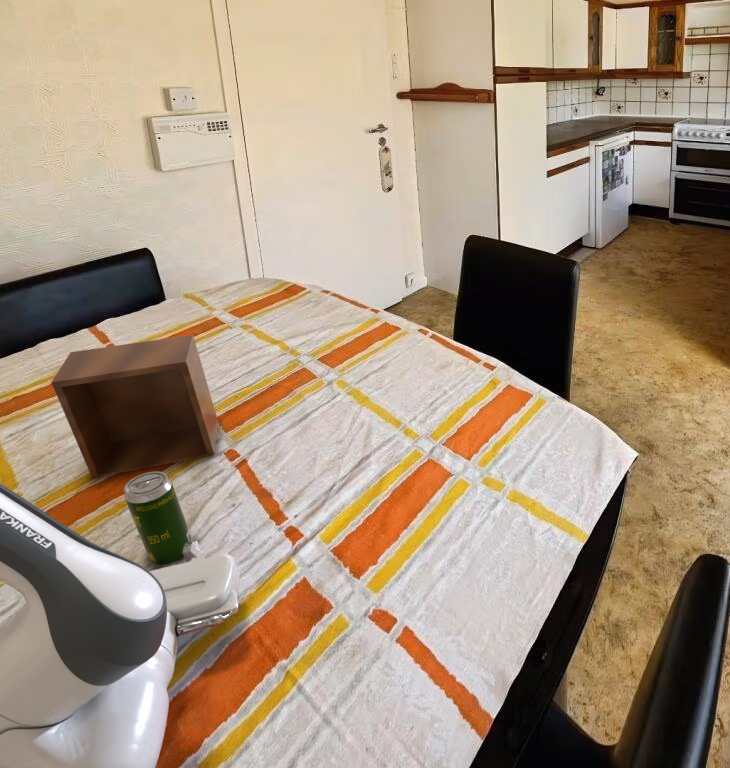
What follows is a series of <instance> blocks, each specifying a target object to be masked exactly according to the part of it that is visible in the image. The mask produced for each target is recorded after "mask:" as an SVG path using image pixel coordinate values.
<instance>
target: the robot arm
mask: <svg viewBox="0 0 730 768" xmlns="http://www.w3.org/2000/svg"><path fill="white" fill-rule="evenodd" d="M183 546H184V548H183V555H184V556H185V557H184V560H185V562H183V563H179V564H174V565H170V566H166V567H163V568H162V567H161V568H156V569H153V570H148V569H147V568H146V567H144V566H143V565H141V564H139V563H137V562H136V561H133V560H131V559H129V558H127V557H125V556H123V555H120V554H118V553H115V552H113V551H111V550H108V549H106V548H105V547H102V546H100V545H98V544H96V543H94V542H92V541H91V540H89V539H87V538H85V537H84V536H82V535H81V534H79V533H77V532H76V531H74V530H73V529H71V528H70V527H68V526H66V525H65V524H64V523H62V522H61V521H59V520H58V519H56V518H55V517H53V516H51V515H50V514H48V513H47V512H46V511H44V510H42V509H41V508H39V507H38V506H36V505H35V504H33V503H32V502H30V501H28V500H27V499H25V498H24V497H23V496H21V495H19V494H17V493H16V492H14V491H13V490H11V489H10V488H9V487H7V486H5V485H3V483H1V482H0V581H1V582H3V583H4V584H6V585H8V586H10V587H11V588H13V589H14V590H15V591H17V592H18V593H20V594H21V595H22V596H23V598H24V600H25V603H24V604H23V605H22V606H21V607H20V608H18V609H17V610H16V611H14V612H13V613H12V614H10V615H9V616H8V617H7V618H6V619H5V620H3V621H2V622H1V623H0V768H156V767H157V763H158V761H159V758H160V754H161V750H162V747H163V743H164V738H165V732H166V728H167V723H168V722H167V721H168V715H169V708H170V698H169V693H168V686H169V685H170V682H171V680H172V678H173V676H174V673H175V666H176V659H177V652H178V645H179V639H180V636H183V635H188V634H192V633H195V632H198V631H200V630H203V629H206V628H207V629H208V628H214V627H217V626H220V625H222V624H224V623H225V621H226V620H227V619H229V618H231V617H232V616H234V615H235V614H237V612H238V611H239V601H240V595H239V593H238V591H239V585H240V571H239V568H238V564H237V561H236V558H235V557H233V556H232V555H230V554H229V553H221V554H216V555H213V556H209V557H205V555H204V554H203V553H202V552H201V547H200V544H199V542H198V540H193V542H191V543H186V544H184V545H183Z"/></svg>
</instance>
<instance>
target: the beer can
mask: <svg viewBox="0 0 730 768" xmlns="http://www.w3.org/2000/svg"><path fill="white" fill-rule="evenodd" d="M123 492H124V499H125V502H126V505H127V507H128V509H129V513H130V515H131V517H132V520H133V523H134V524H135V527H136V530H137V532H138V535H139V537H140V539H141V542H142V544H143V547H144V550H145V552H146V554H147V556H148V557H147V558H148V559H149V562H151V563H152V564H154V565H157V566H164V565H171V564H174V563H176V562H178V561H181V560H182V559H185V556H184V555H183V548H184V546H183V545H184V544H186V543H191V542H194V540H193V538H192V536H191V533H190V532H191V531H190V530H189V526H188V524H187V522H186V518H185V515H184V513H183V510H182V507H181V504H180V501H179V499H178V496H177V493H176V490H175V487H174V484H173V482H172V480H171V479H170V478H169V477H168V475H167V474H166V473H165V472H162V471H149V472H145V473H142V474H139V475H137V476H135V477H133V478H132V479H130V480H129V481H128V482H127V483H126V484H125V486H124V488H123Z"/></svg>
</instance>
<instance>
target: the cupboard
mask: <svg viewBox="0 0 730 768" xmlns="http://www.w3.org/2000/svg"><path fill="white" fill-rule="evenodd" d="M50 384H51V385H52V388H53V390H54V392H55V394H56V397H57V399H58V401H59V404H60V406H61V408H62V411H63V413H64V415H65V418H66V421H67V423H68V425H69V428H70V429H71V432H72V435H73V436H74V439H75V441H76V445H77V446H78V448H79V451H80V453H81V455H82V459H83V461H84V463H85V465H86V467H87V470H88V472H89V474H90V476H91V479H95V478H100V477H105V476H111V475H116V474H120V473H128V472H132V471H136V470H142V469H147V468H152V467H158V466H163V465H167V464H173V463H177V462H183V461H184V462H185V461H188V460H194V459H199V458H202V457H209V456H214V455H215V452H216V446H217V445H216V444H217V438H218V437H217V436H218V428H219V420H218V416H217V412H216V408H215V406H214V401H213V399H212V395H211V392H210V389H209V386H208V382H207V378H206V374H205V371H204V367H203V364H202V361H201V358H200V354H199V350H198V348H197V344H196V341H195V337H194V334H189V335H182V336H181V335H180V336H175V337H167V338H160V339H154V340H147V341H139V342H132V343H125V344H118V345H111V346H105V347H97V348H91V349H83V350H77V351H71V352H70V353H69V354H68V355H67V357H66V358H65V360H64V362H63V363H62V365H61V367H60V368H59V369H58V371H57V373H55V376H54V377H53V379H52V380H51V382H50Z"/></svg>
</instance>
